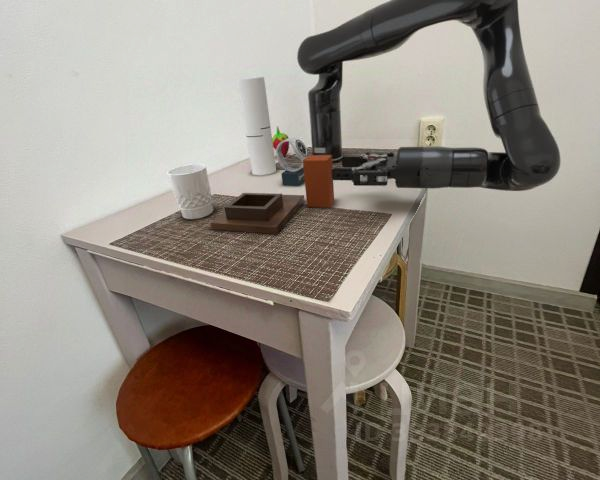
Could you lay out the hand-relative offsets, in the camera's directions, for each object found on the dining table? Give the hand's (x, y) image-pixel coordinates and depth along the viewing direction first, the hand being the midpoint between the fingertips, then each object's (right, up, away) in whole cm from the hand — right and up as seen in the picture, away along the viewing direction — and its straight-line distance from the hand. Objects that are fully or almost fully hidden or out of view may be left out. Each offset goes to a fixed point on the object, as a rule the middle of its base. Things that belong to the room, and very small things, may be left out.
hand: (337, 167), depth 66 cm
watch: (-9, 0, +20) cm, 22 cm away
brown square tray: (-16, -9, +3) cm, 18 cm away
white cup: (-30, -9, +7) cm, 32 cm away
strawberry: (-14, +14, +46) cm, 50 cm away
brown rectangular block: (-3, -7, +5) cm, 9 cm away
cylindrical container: (-18, +6, +32) cm, 37 cm away
